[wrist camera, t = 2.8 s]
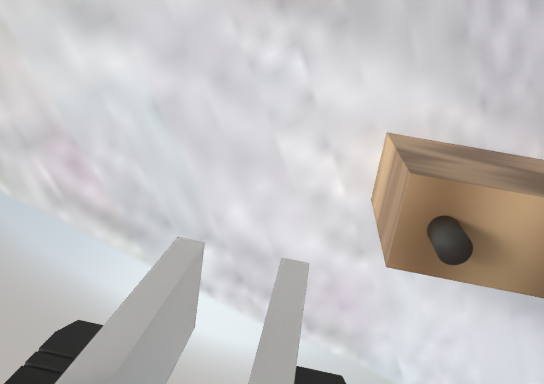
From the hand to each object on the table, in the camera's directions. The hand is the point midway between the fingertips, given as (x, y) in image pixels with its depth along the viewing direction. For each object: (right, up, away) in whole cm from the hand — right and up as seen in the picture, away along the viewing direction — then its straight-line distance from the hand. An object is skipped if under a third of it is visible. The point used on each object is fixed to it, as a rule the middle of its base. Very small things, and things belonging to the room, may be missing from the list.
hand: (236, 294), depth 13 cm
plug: (+14, +3, +17) cm, 22 cm away
